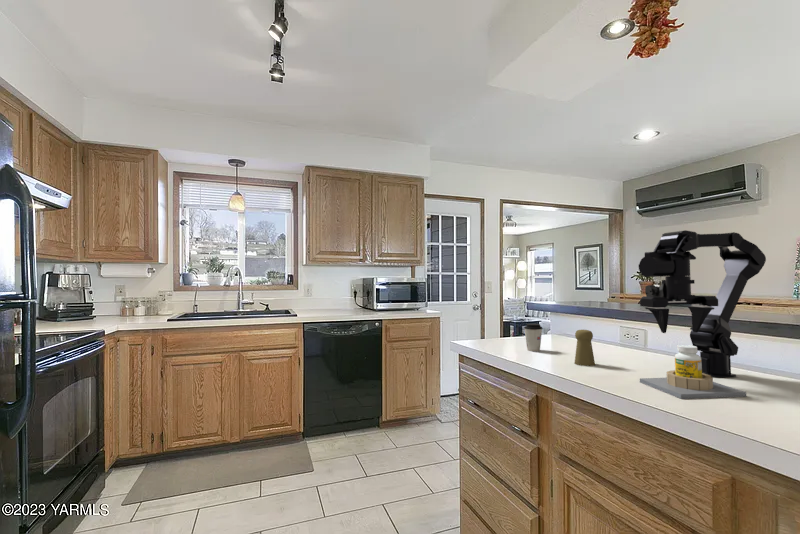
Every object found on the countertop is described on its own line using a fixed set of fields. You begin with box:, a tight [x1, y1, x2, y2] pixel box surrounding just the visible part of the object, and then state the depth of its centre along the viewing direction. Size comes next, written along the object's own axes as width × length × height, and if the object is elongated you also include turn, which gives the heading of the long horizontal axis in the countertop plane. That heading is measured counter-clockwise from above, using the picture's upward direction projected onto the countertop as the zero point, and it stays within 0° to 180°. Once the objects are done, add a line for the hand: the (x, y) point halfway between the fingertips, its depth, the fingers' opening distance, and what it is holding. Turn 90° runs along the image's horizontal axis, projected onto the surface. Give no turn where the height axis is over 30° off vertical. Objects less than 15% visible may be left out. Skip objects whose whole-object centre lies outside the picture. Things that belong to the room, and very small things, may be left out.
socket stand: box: [639, 369, 747, 400], centre depth 96 cm, size 16×14×4 cm
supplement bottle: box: [674, 344, 702, 378], centre depth 97 cm, size 5×5×10 cm
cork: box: [574, 329, 596, 367], centre depth 125 cm, size 6×6×11 cm
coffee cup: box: [523, 323, 543, 352], centre depth 148 cm, size 7×7×10 cm
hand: (679, 332), depth 107 cm, fingers open, 9 cm apart
